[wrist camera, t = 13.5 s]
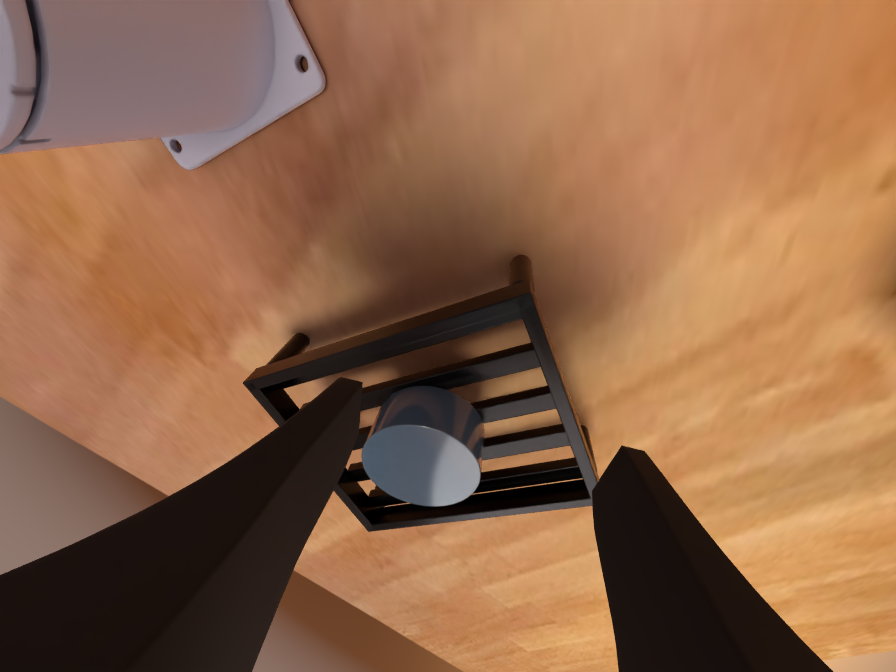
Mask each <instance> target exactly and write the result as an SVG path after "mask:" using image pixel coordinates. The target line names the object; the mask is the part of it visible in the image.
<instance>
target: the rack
mask: <svg viewBox="0 0 896 672" xmlns="http://www.w3.org/2000/svg"><path fill="white" fill-rule="evenodd" d="M520 319H523V321H524V323H525V326H526V329H527V331H528V334H529V337H530V339H531V343H528V344H524V345H520V346H516V347H513V348H509V349H505V350H502V351H498V352H494V353H490V354H487V355H483V356H479V357H476V358H472V359H468V360H464V361H461V362H457V363H453V364H450V365H446V366H442V367H438V368H435V369H431V370H427V371H424V372H420V373H416V374H412V375H409V376H405V377H401V378H398V379H394V380H390V381H386V382H383V383H379V384H375V385H372V386H368V387H364V388H362V397H361V410H360V411H362V410H366V409H370V408H374V407H378V406H382V404H383V402H384V401H385V400H386V399H387V398H388V397H389V396H390V395H391V394H393V393H395V392H396V391H399V390H401V389H404V388H407V387H412V386H433V387H438V388H442V389H446V390H447V389H451V388H455V387H459V386H464V385H468V384H472V383H476V382H480V381H484V380H488V379H492V378H496V377H500V376H504V375H508V374H512V373H516V372H521V371H525V370H529V369H533V368H537V367H541V369H542V371H543V374H544V377H545V379H546V382H547V385H548V386H544V387H539V388H535V389H531V390H526V391H522V392H517V393H513V394H509V395H504V396H500V397H495V398H491V399H487V400H482V401H478V402H473V403H470V404H471V405H472V406H473V407H474V408H475V409H476V410H477V412H478V413H479V415H480V417H481V418H482V421H483V423H488V422H493V421H498V420H502V419H507V418H512V417H517V416H522V415H527V414H532V413H536V412H541V411H546V410H551V409H556V408H557V411H558V414H559V416H560V419H561V422H562V424H558V425H553V426H547V427H542V428H537V429H532V430H526V431H521V432H516V433H511V434H506V435H500V436H495V437H490V438H485V439H484V447H483V458H482V460H487V459H493V458H499V457H505V456H511V455H516V454H522V453H528V452H534V451H540V450H546V449H552V448H557V447H563V446H569V445H570V446H571V448H572V451H573V454H574V456H575V458H569V459H562V460H556V461H550V462H544V463H537V464H531V465H525V466H519V467H512V468H506V469H500V470H494V471H487V472H481V478H480V482H479V485H478V487H477V488H476V490H475V491H474V492H473V493H480V492H487V491H494V490H501V489H509V488H516V487H523V486H530V485H537V484H544V483H551V482H558V481H565V480H572V479H579V478H583V479H582V480H574V481H567V482H560V483H553V484H546V485H539V486H532V487H524V488H517V489H510V490H503V491H496V492H489V493H482V494H474V495H470V496H469V497H468V498H466V499H464V500H462V501H460V502H458V503H455V504H451V505H446V506H421V505H416V504H412V503H410V504H403V505H396V506H389V507H385V506H388V505H395V504H402V503H408V502H405V501H402V500H400V499H397V498H395V497H393V496H391V495H389V494H388V493H386V492H385V491H383V490H382V489H380V488H379V487H378V486H377V485H376V487H375V490H371V491H370V494H369V496H368V495H367V494H366V493H365V492H364V490H363V489H362V488H361V487H360V485H359V484H358V483H357V482H359V481H364V480H370V478H369V476H368V475H367V473H366V471H365V469H364V467H363V463H362V462H359V463H354V464H351V465H350V466H349V469H348V470H347V469H346V468H345V469H344V471H343V473H342V475H341V477H340V479H339V481H338V483H337V484H336V486H335V488H334V492H335V493H336V494H337V495H338V496H339V497H340V499H341V500H342V501H343V502H344V503H345V505H346V506H347V507H348V508H349V509H350V510H351V512H352V513H353V514H354V515H355V516H356V518H357V519H358V520H359V521H360V522H361V523H362V525H363V526H364V527H365V528H366V529H367V531H369V532H370V531H379V530H388V529H396V528H405V527H413V526H422V525H430V524H439V523H448V522H456V521H465V520H473V519H482V518H491V517H499V516H508V515H516V514H525V513H534V512H542V511H551V510H559V509H568V508H576V507H585V506H593V504H592V490H593V488H594V487H595V485H596V484H597V482H598V481H599V477H598V474H597V468H596V463H595V459H594V454H593V450H592V445H591V441H590V436H589V432H588V429H587V428H586V427H585V426H582V425H580V422H579V419H578V417H577V414H576V411H575V408H574V405H573V402H572V399H571V396H570V394H569V391H568V388H567V385H566V382H565V379H564V376H563V373H562V371H561V368H560V365H559V362H558V359H557V356H556V353H555V350H554V347H553V345H552V342H551V339H550V336H549V333H548V330H547V327H546V324H545V322H544V319H543V316H542V313H541V310H540V307H539V304H538V301H537V299H536V296H535V290H534V281H533V272H532V263H531V260H530V259H529V258H528V257H527V256H524V255H518V256H516V257H514V258H513V259H512V260H511V262H510V272H509V286H507V287H504V288H501V289H498V290H495V291H492V292H489V293H486V294H483V295H480V296H477V297H474V298H471V299H468V300H464V301H461V302H458V303H455V304H452V305H449V306H446V307H443V308H440V309H437V310H434V311H431V312H428V313H425V314H422V315H419V316H415V317H412V318H409V319H406V320H403V321H400V322H397V323H394V324H391V325H388V326H385V327H382V328H379V329H376V330H373V331H370V332H366V333H363V334H360V335H357V336H354V337H351V338H348V339H345V340H342V341H339V342H336V343H333V344H330V345H327V346H324V347H321V348H317V349H314V350H311V351H308V352H305V353H303V352H304V351H305V350H306V349H307V347H308V346H309V345H310V340H309V338H308V337H307V336H306V335H305V334H303V333H297V334H295V335H294V336H293V337H292V338H291V339H290V340H289V341H288V342H287V343H286V344H285V345H284V346H283V347H282V349H281V350H280V351H279V352H278V353H277V354H276V355H275V356H274V357H273V358H272V359H271V360H270V361H269V362H268V363H267V365H265V366H262V367H259V368H256V370H255V371H254V372H253V373H252V374H251V375H250V376H249V377H248V378H247V379H246V380H245V381H244V382H243V384H244V385H245V386H246V388H247V389H248V390H249V391H250V392H251V393H252V395H253V396H254V397H255V398H256V399H257V401H258V402H259V403H260V404H261V405H262V406H263V408H264V409H265V410H266V411H267V412H268V414H269V415H270V416H271V417H272V418H273V419H274V421H275V422H276V423H277V424H278V425H279V426H280V425H282V424H283V423H284V422H286V421H287V420H288V419H290V418H291V417H292V416H293V415H295V414H296V413H297V412H299V411H300V410H301V409H302V408H304V407H305V406H306V405H307V404H309V403H310V402H308V403H305V404H303V406H302V407H301V408H300V409H299V408H298V407H297V406H296V404H295V403H294V402H293V401H292V399H291V398H290V397H289V395H288V394H287V393H286V392H285V390H284V388H288V387H291V386H295V385H298V384H301V383H305V382H308V381H312V380H315V379H318V378H322V377H325V376H329V375H332V374H336V373H339V372H342V371H346V370H349V369H353V368H356V367H359V366H363V365H366V364H370V363H373V362H376V361H380V360H383V359H387V358H390V357H394V356H397V355H400V354H404V353H407V352H411V351H414V350H417V349H421V348H424V347H428V346H431V345H435V344H438V343H441V342H445V341H448V340H452V339H455V338H458V337H462V336H465V335H469V334H472V333H476V332H479V331H482V330H486V329H489V328H493V327H496V326H499V325H503V324H506V323H510V322H513V321H516V320H520ZM372 426H373V425H372ZM372 426H368V427H363V428H359V434H358V436H357V439H356V442H355V444H354V447H353V449H352V450H356V449H361V448H363V446H364V444H365V442H366V439H367V437H368V435H369V432H370V430H371V428H372ZM473 493H472V494H473Z"/></svg>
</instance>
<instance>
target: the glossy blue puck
mask: <svg viewBox="0 0 896 672" xmlns="http://www.w3.org/2000/svg"><path fill="white" fill-rule="evenodd" d="M484 436H485V429H484V424H483V421H482V418H481V417H480V415H479V413H478V412H477V410H476V409H475V408H474V407H473V406H472V405H471V404H470V403H469V402H468V401H467V400H465V399H464V398H462V397H461V396H459V395H457V394H455V393H453V392H451V391H448V390H446V389H442V388H438V387H433V386H412V387H407V388H404V389H401V390H399V391H396V392H395V393H393V394H391V395H390V396H389V397H388V398H387V399H386V400H385V401H384V402H383V404H382V406H381V407H380V410H379V412H378V414H377V416H376V419H375V421H374V423H373V426H372V428H371V430H370V432H369V435H368V437H367V439H366V442H365V444H364V446H363V449H362V463H363V467H364V469H365V471H366V473H367V475H368V476H369V478H370V479H371V480H372V481H373V482H374V483H375V484H376V485H377V486H378V487H379V488H380V489H382V490H383V491H385V492H386V493H388V494H389V495H391V496H393V497H395V498H397V499H400V500H402V501H405V502H408V503H412V504H416V505H421V506H446V505H451V504H455V503H458V502H460V501H462V500H464V499H466V498H468V497H469V496H470V495H471V494H472V493H473V492H474V491H475V490H476V488H477V487H478V485H479V482H480V478H481V469H482V458H483V447H484Z"/></svg>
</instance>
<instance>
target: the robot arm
mask: <svg viewBox="0 0 896 672" xmlns="http://www.w3.org/2000/svg"><path fill="white" fill-rule="evenodd" d="M303 56H304V57H305V58H306V59H307V61H308V70H307V71H306V72H304V71H303V70H302V69H301V67H300V59H301V58H302V57H303ZM325 85H326V83H325V76H324V73H323V71H322V68H321V66H320V64H319V62H318V60H317V58H316V56H315V54H314V52H313V50H312V48H311V46H310V44H309V42H308V40H307V38H306V36H305V34H304V32H303V30H302V27H301V25H300V23H299V21H298V19H297V17H296V15H295V13H294V11H293V9H292V7H291V5H290V3H289V1H288V0H0V154H8V153H18V152H27V151H37V150H47V149H56V148H66V147H76V146H85V145H95V144H104V143H114V142H124V141H133V140H143V139H152V138H160V139H161V140H162V142H163V143H164V144H165V146H166V147H167V149H168V150H169V151H170V153H171V154H172V156H173V157H174V159H175V160H176V161H177V163H178V164H179V165H180V166H181V167H183V168H184V169H187V170H191V169H196V168H198V167H200V166H202V165H203V164H205V163H207V162H208V161H210V160H211V159H213V158H215V157H216V156H218V155H220V154H221V153H223V152H225V151H226V150H228V149H230V148H231V147H233V146H235V145H236V144H238V143H239V142H241V141H243V140H244V139H246V138H248V137H249V136H251V135H253V134H254V133H256V132H258V131H259V130H261V129H262V128H264V127H266V126H267V125H269V124H271V123H272V122H274V121H276V120H277V119H279V118H281V117H282V116H284V115H286V114H287V113H289V112H290V111H292V110H294V109H295V108H297V107H299V106H300V105H302V104H304V103H305V102H307V101H309V100H310V99H312V98H313V97H315V96H317V95H318V94H320V93H321V92H322V91H323V90H324V88H325ZM177 141H178V142H179V143H180V144H181V147H182V151H181V150H180V149H179V148H178V145H177ZM362 384H363V382H359V381H355V380H351V379H347V378H343V377H340V378H339V379H337V380H336V381H335V382H333V383H332V384H331V385H330V386H329V387H328V388H326V389H325V390H324V391H323V392H322V393H321V394H319V395H318V396H317V397H316V398H315V399H313V400H312V401H311V402H310V403H309V404H307V405H306V406H305V407H304V408H302V409H301V410H300V411H299V412H297V413H296V414H295V415H293V416H292V417H291V418H290V419H288V420H287V421H286V422H284V423H283V424H282V425H280V426H279V427H278V428H276V429H275V430H274V431H272V432H271V433H270V434H268V435H267V436H265V437H264V438H262V439H261V440H260V441H258V442H257V443H255V444H254V445H252V446H251V447H250V448H248V449H247V450H245V451H244V452H242V453H241V454H239V455H238V456H236V457H235V458H233V459H232V460H230V461H228V462H227V463H225V464H224V465H222V466H221V467H219V468H217V469H216V470H214V471H212V472H211V473H209V474H207V475H206V476H204V477H202V478H201V479H199V480H197V481H196V482H194V483H192V484H190V485H188V486H187V487H185V488H183V489H181V490H179V491H178V492H176V493H174V494H172V495H170V496H169V497H167V498H165V499H163V500H162V501H160V502H158V503H156V504H154V505H152V506H150V507H148V508H146V509H144V510H143V511H140V512H138V513H137V514H134V515H132V516H130V517H128V518H126V519H124V520H122V521H120V522H118V523H116V524H114V525H111V526H110V527H107V528H105V529H103V530H101V531H99V532H97V533H95V534H93V535H91V536H89V537H87V538H85V539H82V540H80V541H78V542H76V543H74V544H72V545H69V546H67V547H65V548H63V549H61V550H58V551H56V552H54V553H51V554H49V555H47V556H44V557H42V558H39V559H37V560H35V561H32V562H30V563H28V564H25V565H23V566H21V567H18V568H16V569H13V570H11V571H9V572H7V573H4V574H2V575H0V672H252V670H253V667H254V665H255V662H256V660H257V657H258V654H259V652H260V650H261V647H262V645H263V642H264V640H265V637H266V635H267V632H268V630H269V627H270V625H271V622H272V620H273V618H274V615H275V613H276V610H277V608H278V605H279V603H280V600H281V598H282V596H283V593H284V591H285V589H286V586H287V584H288V581H289V579H290V577H291V574H292V572H293V569H294V567H295V565H296V562H297V560H298V558H299V556H300V554H301V552H302V550H303V548H304V546H305V544H306V542H307V540H308V538H309V536H310V534H311V532H312V530H313V528H314V526H315V525H316V523H317V521H318V519H319V517H320V515H321V513H322V511H323V509H324V507H325V506H326V504H327V502H328V500H329V498H330V496H331V494H332V492H333V490H334V488H335V486H336V484H337V483H338V481H339V479H340V477H341V475H342V473H343V471H344V469H345V467H346V465H347V462H348V460H349V457H350V455H351V452H352V449H353V447H354V444H355V442H356V439H357V436H358V434H359V423H360V410H361V397H362ZM592 504H593V519H594V530H595V536H596V541H597V546H598V552H599V557H600V562H601V567H602V572H603V577H604V582H605V587H606V592H607V597H608V602H609V607H610V613H611V618H612V623H613V629H614V635H615V641H616V649H617V658H618V668H619V672H833V671H832V670H831V669H830V668H829V667H828V666H827V665H826V664H825V663H824V662H823V661H822V660H821V659H820V658H819V657H818V656H817V655H816V654H815V653H814V652H813V651H812V650H811V649H810V648H809V647H808V646H807V645H806V644H805V643H804V642H803V641H802V640H801V639H800V638H799V637H798V636H797V634H796V633H795V632H794V631H793V630H792V629H791V628H790V627H789V626H788V625H787V624H786V623H785V622H784V621H783V619H782V618H781V617H780V616H779V615H778V614H777V613H776V612H775V611H774V610H773V609H772V608H771V607H770V606H769V604H768V603H767V602H766V601H765V600H764V599H763V598H762V597H761V596H760V594H759V593H758V592H757V591H756V590H755V589H754V588H753V587H752V585H751V584H750V583H749V582H748V581H747V580H746V578H745V577H744V576H743V575H742V574H741V573H740V571H739V570H738V569H737V568H736V567H735V566H734V564H733V563H732V562H731V561H730V560H729V558H728V557H727V556H726V555H725V554H724V552H723V551H722V550H721V549H720V548H719V546H718V545H717V544H716V543H715V541H714V540H713V539H712V538H711V536H710V535H709V534H708V533H707V531H706V530H705V529H704V528H703V526H702V525H701V524H700V523H699V521H698V520H697V519H696V517H695V516H694V515H693V514H692V512H691V511H690V510H689V508H688V507H687V506H686V504H685V503H684V502H683V500H682V499H681V498H680V497H679V495H678V494H677V493H676V491H675V490H674V489H673V487H672V486H671V485H670V483H669V482H668V481H667V479H666V478H665V477H664V475H663V474H662V473H661V472H660V470H659V469H658V468H657V466H656V465H655V464H654V462H653V461H652V460H651V459H650V457H649V456H648V455H647V454H646V453H645V451H642V450H638V449H634V448H630V447H625V446H621V448H620V449H619V451H618V452H617V454H616V455H615V457H614V458H613V460H612V461H611V463H610V464H609V466H608V467H607V469H606V470H605V472H604V473H603V475H602V476H601V478H600V479H599V481H598V482H597V484H596V485H595V487H594V488H593V490H592Z"/></svg>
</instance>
